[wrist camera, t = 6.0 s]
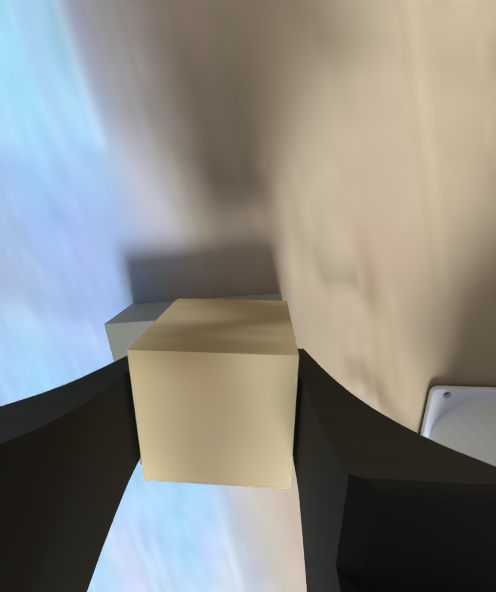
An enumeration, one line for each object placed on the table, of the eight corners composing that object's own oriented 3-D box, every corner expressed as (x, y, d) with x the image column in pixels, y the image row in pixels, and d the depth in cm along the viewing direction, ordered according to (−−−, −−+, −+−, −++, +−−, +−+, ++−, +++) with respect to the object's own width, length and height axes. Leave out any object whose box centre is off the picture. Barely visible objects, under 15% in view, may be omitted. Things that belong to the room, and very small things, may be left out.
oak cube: (286, 301, 12) (298, 355, 7) (281, 395, 13) (290, 489, 9) (177, 298, 12) (126, 349, 7) (183, 391, 13) (144, 480, 9)
